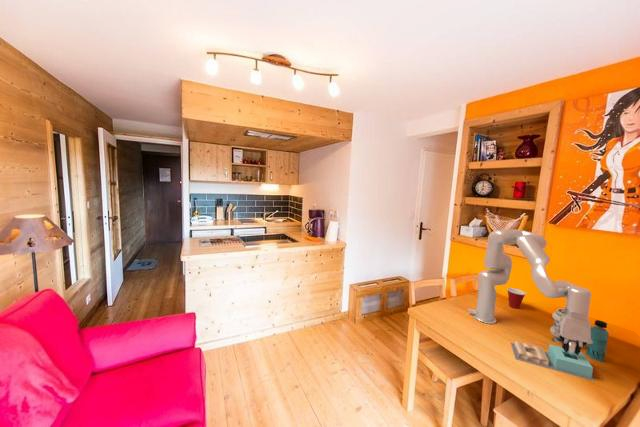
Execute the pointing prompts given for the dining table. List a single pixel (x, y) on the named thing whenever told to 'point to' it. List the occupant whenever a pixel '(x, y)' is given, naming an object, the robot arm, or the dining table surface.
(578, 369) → the teal dock
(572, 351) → the steel pin
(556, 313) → the apothecary jar
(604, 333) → the beverage bottle
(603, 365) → the dining table surface
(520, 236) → the robot arm
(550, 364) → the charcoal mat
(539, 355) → the ash mount
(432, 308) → the dining table surface
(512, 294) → the plastic cup
